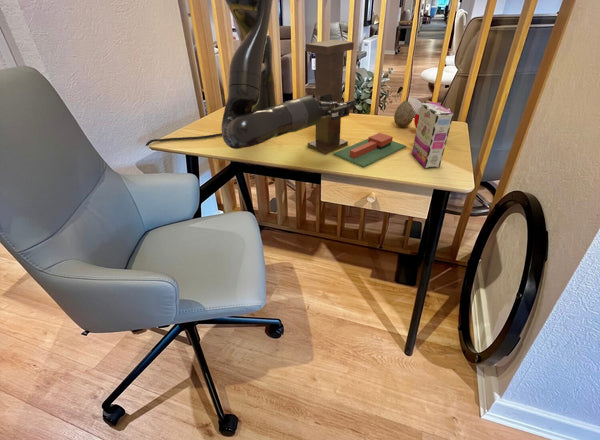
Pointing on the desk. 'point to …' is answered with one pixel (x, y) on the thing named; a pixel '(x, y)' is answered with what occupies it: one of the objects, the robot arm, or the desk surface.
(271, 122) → the robot arm
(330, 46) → the stand
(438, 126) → the candy bar box
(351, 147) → the felt mat
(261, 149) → the desk surface
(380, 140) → the brush
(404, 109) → the decorative egg
